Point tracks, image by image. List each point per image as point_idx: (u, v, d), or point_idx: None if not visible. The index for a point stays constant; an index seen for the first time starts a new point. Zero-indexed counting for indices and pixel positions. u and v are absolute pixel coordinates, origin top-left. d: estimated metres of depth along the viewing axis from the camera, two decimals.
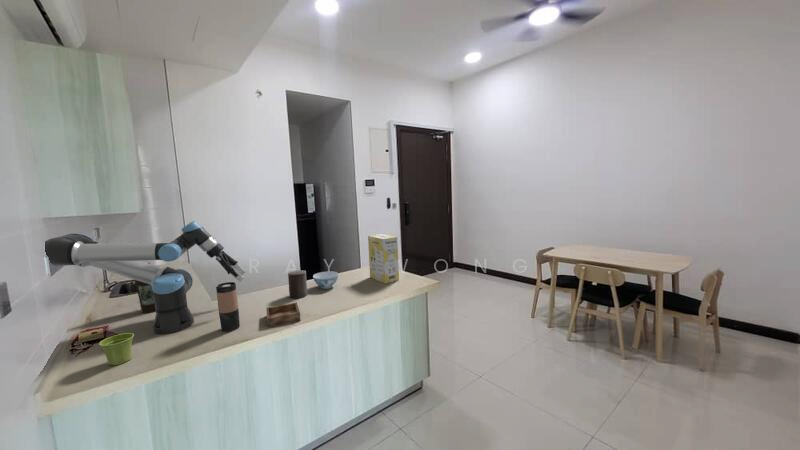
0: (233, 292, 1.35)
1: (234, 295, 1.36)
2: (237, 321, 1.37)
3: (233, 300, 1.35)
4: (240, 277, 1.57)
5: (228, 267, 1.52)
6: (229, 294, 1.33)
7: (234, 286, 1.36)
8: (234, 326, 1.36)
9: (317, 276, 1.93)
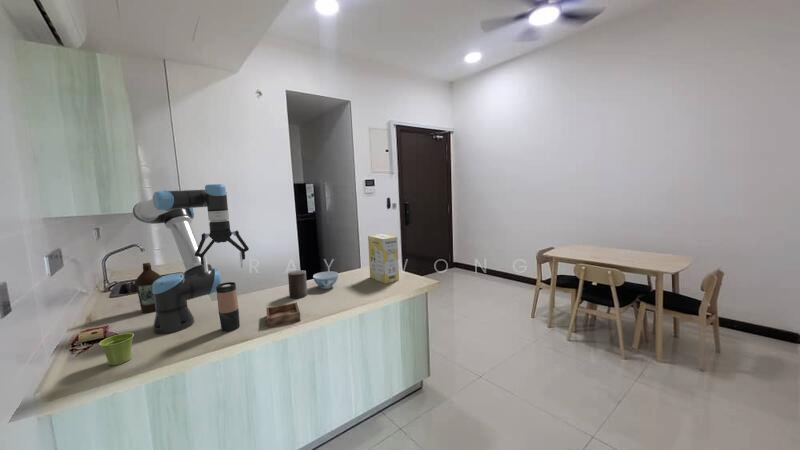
0: (233, 292, 1.35)
1: (234, 295, 1.36)
2: (237, 321, 1.37)
3: (233, 300, 1.35)
4: (204, 268, 1.32)
5: None
6: (229, 294, 1.33)
7: (234, 286, 1.36)
8: (234, 326, 1.36)
9: (317, 276, 1.93)
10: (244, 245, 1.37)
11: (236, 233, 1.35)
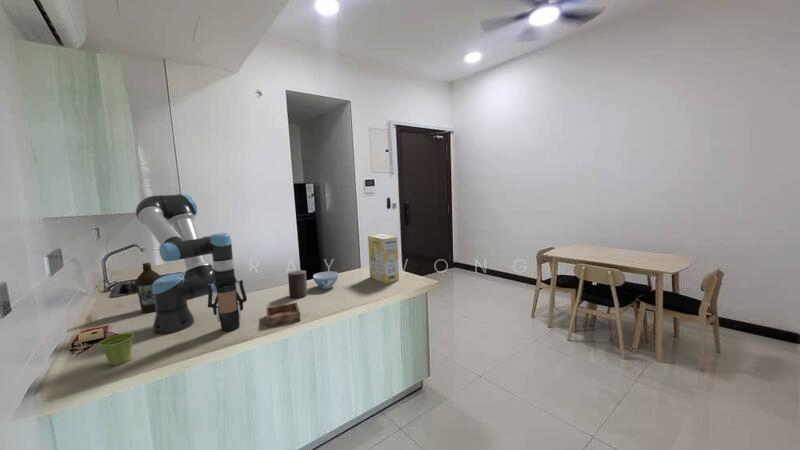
0: (233, 292, 1.35)
1: (234, 295, 1.36)
2: (237, 321, 1.37)
3: (233, 300, 1.35)
4: None
5: (208, 302, 1.33)
6: (229, 294, 1.33)
7: (234, 286, 1.36)
8: (234, 326, 1.36)
9: (317, 276, 1.93)
10: (244, 296, 1.38)
11: (240, 283, 1.37)
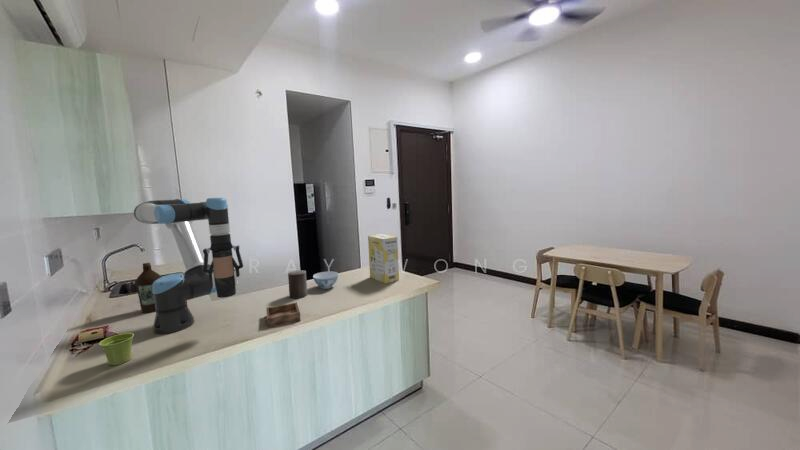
0: (229, 257, 1.33)
1: (230, 261, 1.34)
2: (233, 287, 1.35)
3: (229, 266, 1.33)
4: (213, 283, 1.33)
5: (203, 267, 1.31)
6: (225, 259, 1.31)
7: (230, 251, 1.34)
8: (230, 292, 1.34)
9: (317, 276, 1.93)
10: (240, 262, 1.36)
11: (236, 248, 1.35)
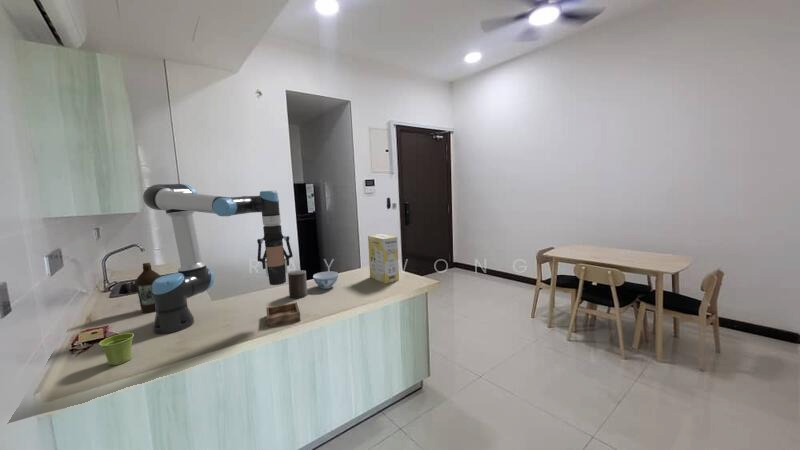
0: (281, 247, 1.41)
1: (281, 250, 1.41)
2: (284, 275, 1.43)
3: (280, 255, 1.41)
4: (266, 272, 1.41)
5: None
6: (277, 249, 1.39)
7: (281, 241, 1.41)
8: (282, 280, 1.42)
9: (317, 276, 1.93)
10: (290, 251, 1.44)
11: (287, 238, 1.43)
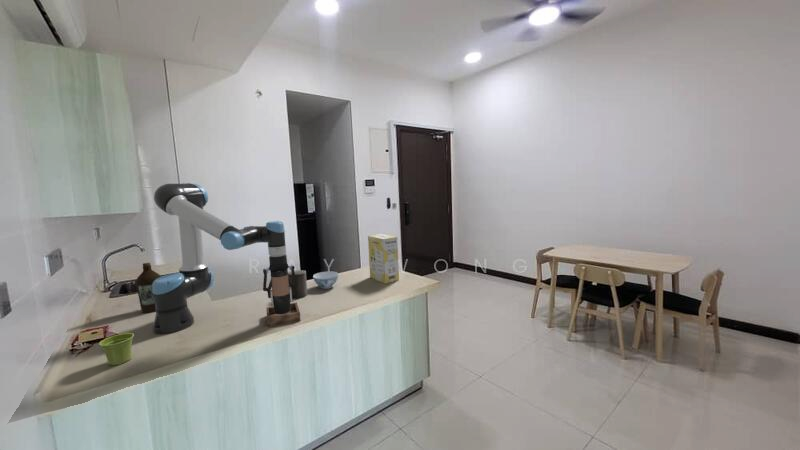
0: (286, 277, 1.43)
1: (287, 279, 1.44)
2: (289, 304, 1.46)
3: (286, 284, 1.43)
4: (271, 301, 1.44)
5: (263, 286, 1.41)
6: (282, 279, 1.42)
7: (287, 271, 1.44)
8: (287, 309, 1.44)
9: (317, 276, 1.93)
10: (295, 280, 1.46)
11: (292, 268, 1.45)
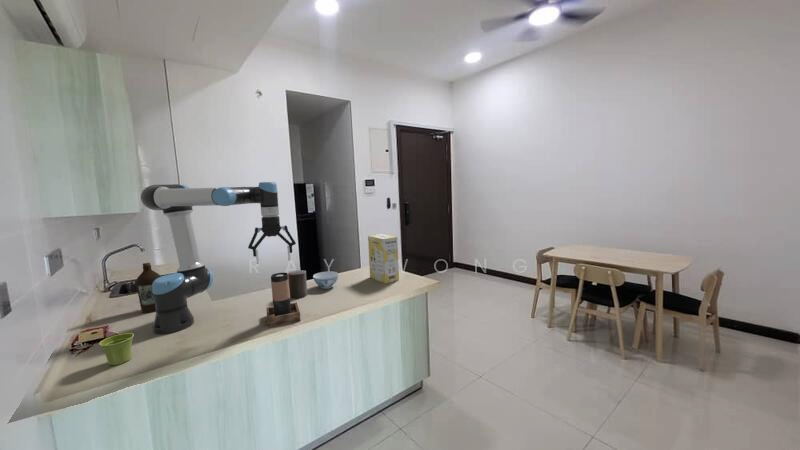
0: (286, 281, 1.44)
1: (287, 284, 1.44)
2: (289, 309, 1.46)
3: (286, 289, 1.44)
4: None
5: None
6: (283, 283, 1.42)
7: (287, 276, 1.45)
8: None
9: (317, 276, 1.93)
10: (292, 239, 1.46)
11: (285, 228, 1.44)
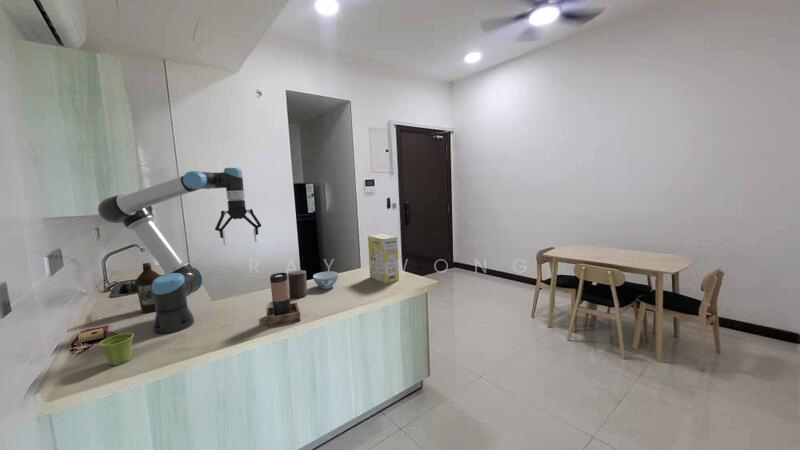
0: (286, 282, 1.43)
1: (286, 284, 1.44)
2: (289, 309, 1.46)
3: (286, 290, 1.43)
4: None
5: None
6: (282, 284, 1.42)
7: (286, 276, 1.44)
8: None
9: (317, 276, 1.93)
10: (257, 222, 1.55)
11: (250, 211, 1.54)
